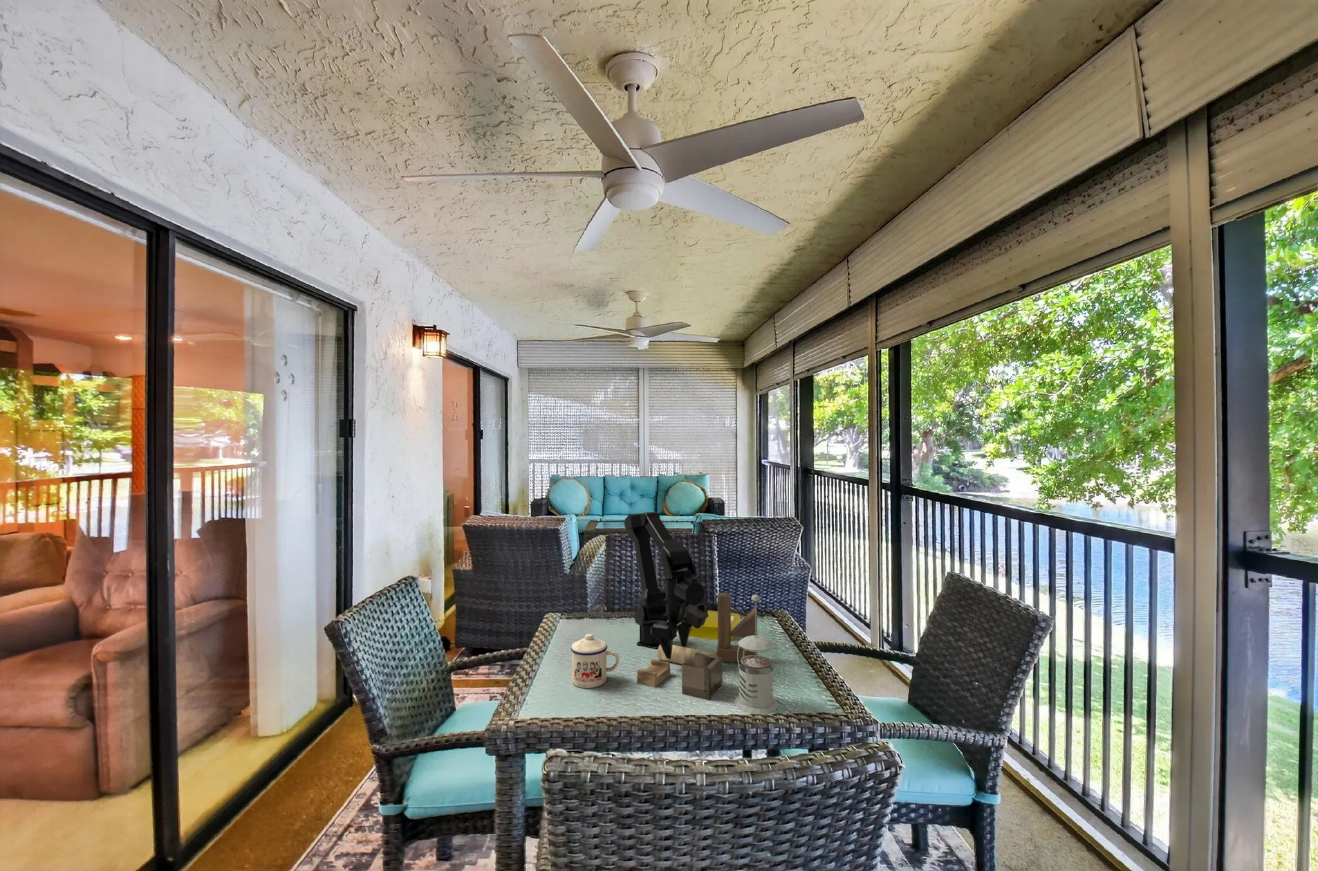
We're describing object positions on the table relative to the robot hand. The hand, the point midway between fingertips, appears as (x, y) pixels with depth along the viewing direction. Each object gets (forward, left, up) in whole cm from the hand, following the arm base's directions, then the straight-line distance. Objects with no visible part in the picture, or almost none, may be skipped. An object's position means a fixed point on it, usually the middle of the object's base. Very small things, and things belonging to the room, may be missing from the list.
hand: (676, 652), depth 153 cm
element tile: (-1, +28, -3) cm, 28 cm away
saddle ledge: (0, -12, -3) cm, 12 cm away
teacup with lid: (-13, -20, -3) cm, 24 cm away
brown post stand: (+14, +9, -3) cm, 17 cm away
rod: (+3, 0, -3) cm, 4 cm away
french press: (+26, -12, -3) cm, 29 cm away
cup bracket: (+13, -12, -3) cm, 18 cm away
